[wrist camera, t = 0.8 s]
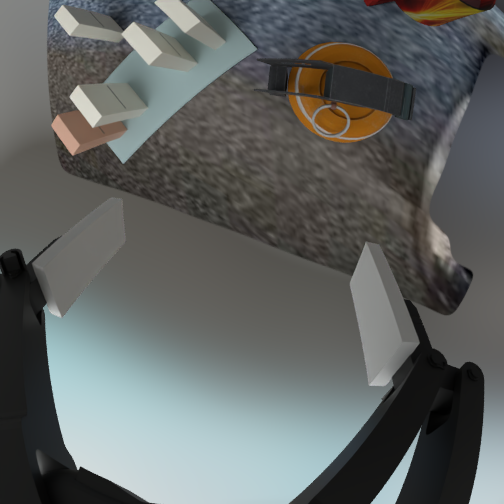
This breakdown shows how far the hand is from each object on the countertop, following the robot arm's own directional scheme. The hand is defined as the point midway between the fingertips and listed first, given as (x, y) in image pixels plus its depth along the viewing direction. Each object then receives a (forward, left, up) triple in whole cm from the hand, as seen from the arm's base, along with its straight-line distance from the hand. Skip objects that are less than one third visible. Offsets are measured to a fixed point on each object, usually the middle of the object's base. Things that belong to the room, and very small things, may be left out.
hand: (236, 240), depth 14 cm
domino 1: (-23, -20, -24) cm, 39 cm away
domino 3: (-15, -10, -24) cm, 30 cm away
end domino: (-8, -22, -24) cm, 33 cm away
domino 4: (-18, -6, -24) cm, 30 cm away
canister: (-8, +7, -24) cm, 26 cm away
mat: (-13, -14, -24) cm, 31 cm away
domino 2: (-11, -18, -24) cm, 32 cm away
